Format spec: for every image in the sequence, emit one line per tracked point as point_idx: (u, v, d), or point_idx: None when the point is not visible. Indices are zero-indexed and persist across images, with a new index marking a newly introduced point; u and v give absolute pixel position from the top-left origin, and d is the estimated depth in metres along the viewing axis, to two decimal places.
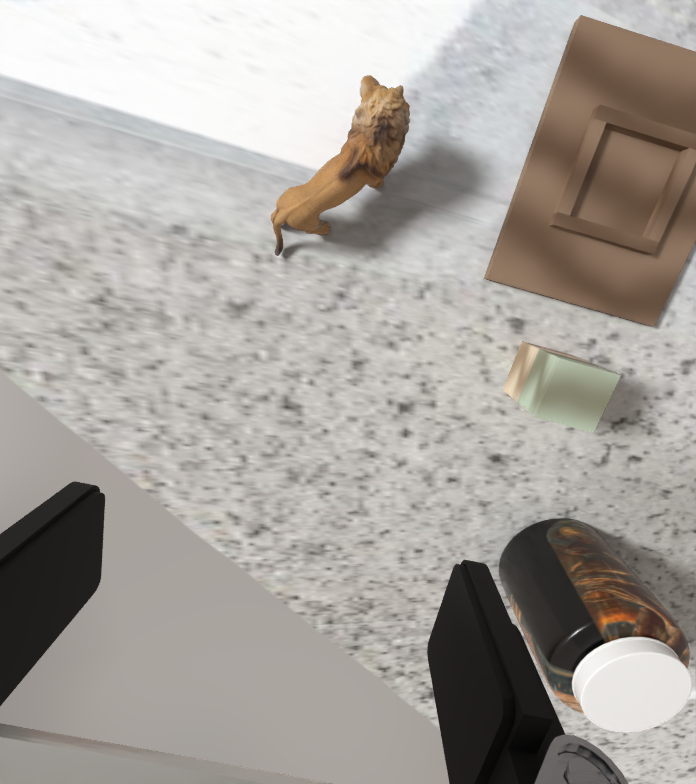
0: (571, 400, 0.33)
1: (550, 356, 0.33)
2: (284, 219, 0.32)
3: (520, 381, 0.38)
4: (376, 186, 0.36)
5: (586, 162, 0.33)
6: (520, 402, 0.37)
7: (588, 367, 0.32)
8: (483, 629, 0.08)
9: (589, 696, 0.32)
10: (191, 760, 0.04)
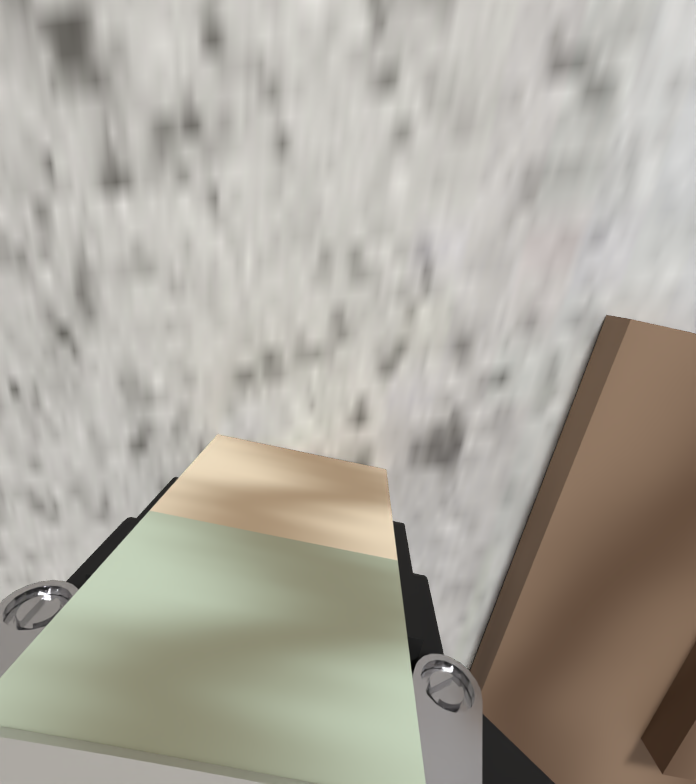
0: None
1: (397, 673, 0.06)
2: None
3: (247, 503, 0.09)
4: None
5: None
6: (141, 531, 0.08)
7: None
8: None
9: None
10: (191, 760, 0.04)
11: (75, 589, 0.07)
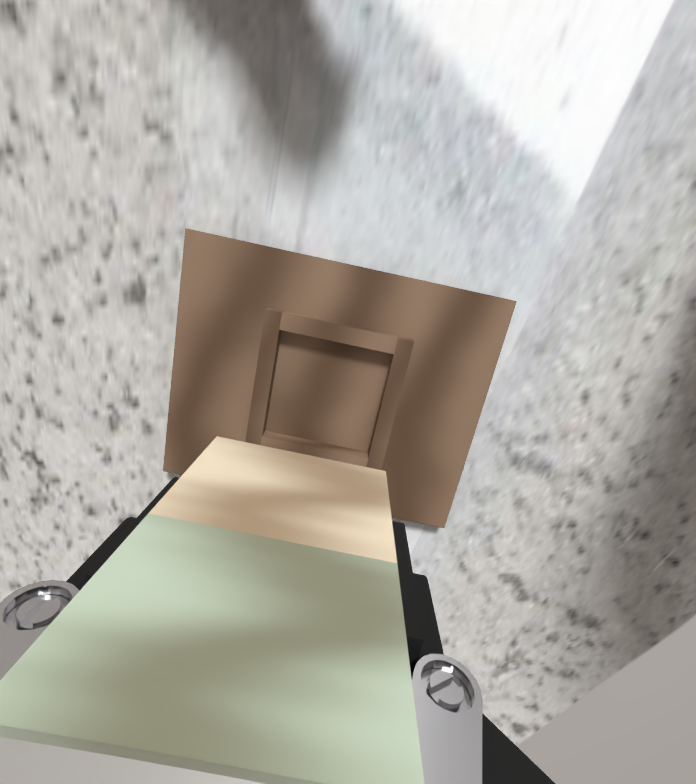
0: None
1: (397, 678, 0.06)
2: None
3: (245, 505, 0.09)
4: None
5: (346, 338, 0.25)
6: (140, 534, 0.08)
7: None
8: None
9: None
10: (191, 760, 0.04)
11: (75, 589, 0.07)
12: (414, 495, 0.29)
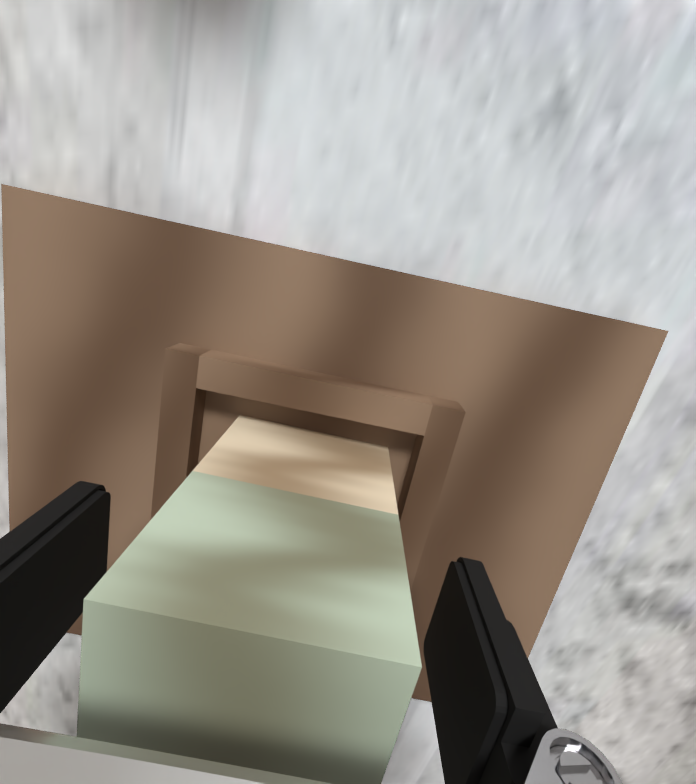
0: (207, 733, 0.07)
1: (399, 589, 0.08)
2: None
3: (270, 468, 0.11)
4: None
5: (329, 405, 0.12)
6: (188, 485, 0.09)
7: (377, 774, 0.07)
8: (477, 625, 0.08)
9: None
10: (191, 760, 0.04)
11: None
12: None
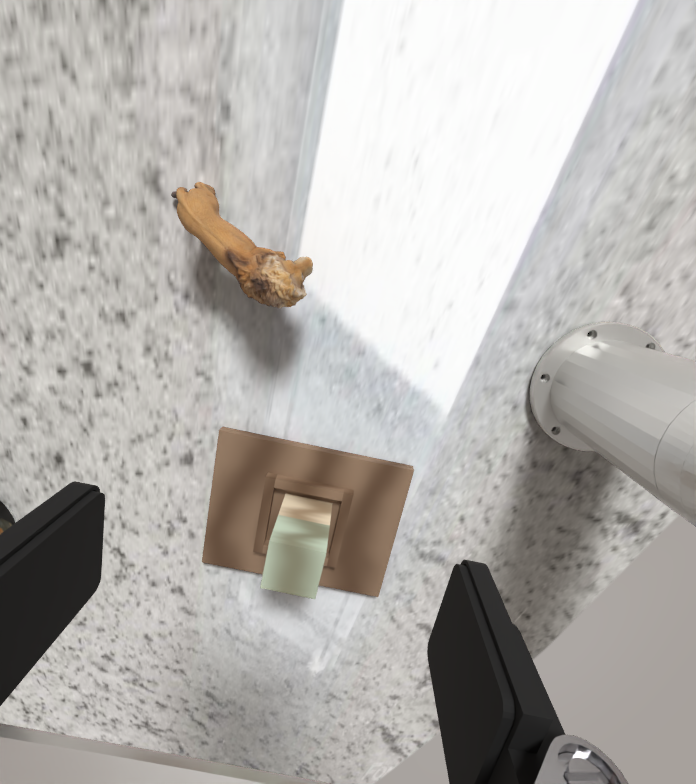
0: (288, 566, 0.36)
1: (325, 541, 0.37)
2: (178, 199, 0.31)
3: (297, 513, 0.40)
4: None
5: (313, 492, 0.42)
6: (278, 518, 0.39)
7: (319, 574, 0.36)
8: (483, 629, 0.08)
9: None
10: (191, 760, 0.04)
11: None
12: (358, 577, 0.46)
